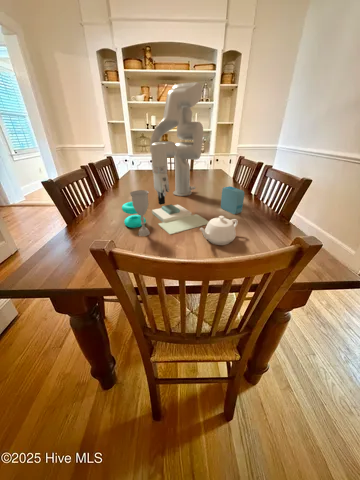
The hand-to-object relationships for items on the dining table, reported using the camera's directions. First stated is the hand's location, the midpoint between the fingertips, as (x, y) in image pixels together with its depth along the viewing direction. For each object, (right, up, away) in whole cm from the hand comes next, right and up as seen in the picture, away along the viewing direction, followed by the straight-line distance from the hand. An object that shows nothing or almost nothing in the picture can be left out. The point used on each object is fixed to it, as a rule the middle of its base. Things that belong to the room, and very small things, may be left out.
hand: (161, 203), depth 111 cm
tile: (+5, -5, -7) cm, 10 cm away
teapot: (+26, -20, -30) cm, 45 cm away
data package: (+38, -5, -3) cm, 38 cm away
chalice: (-6, -18, -25) cm, 31 cm away
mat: (+12, -13, -17) cm, 24 cm away
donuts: (-11, -13, -16) cm, 24 cm away
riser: (+6, -7, -7) cm, 12 cm away
